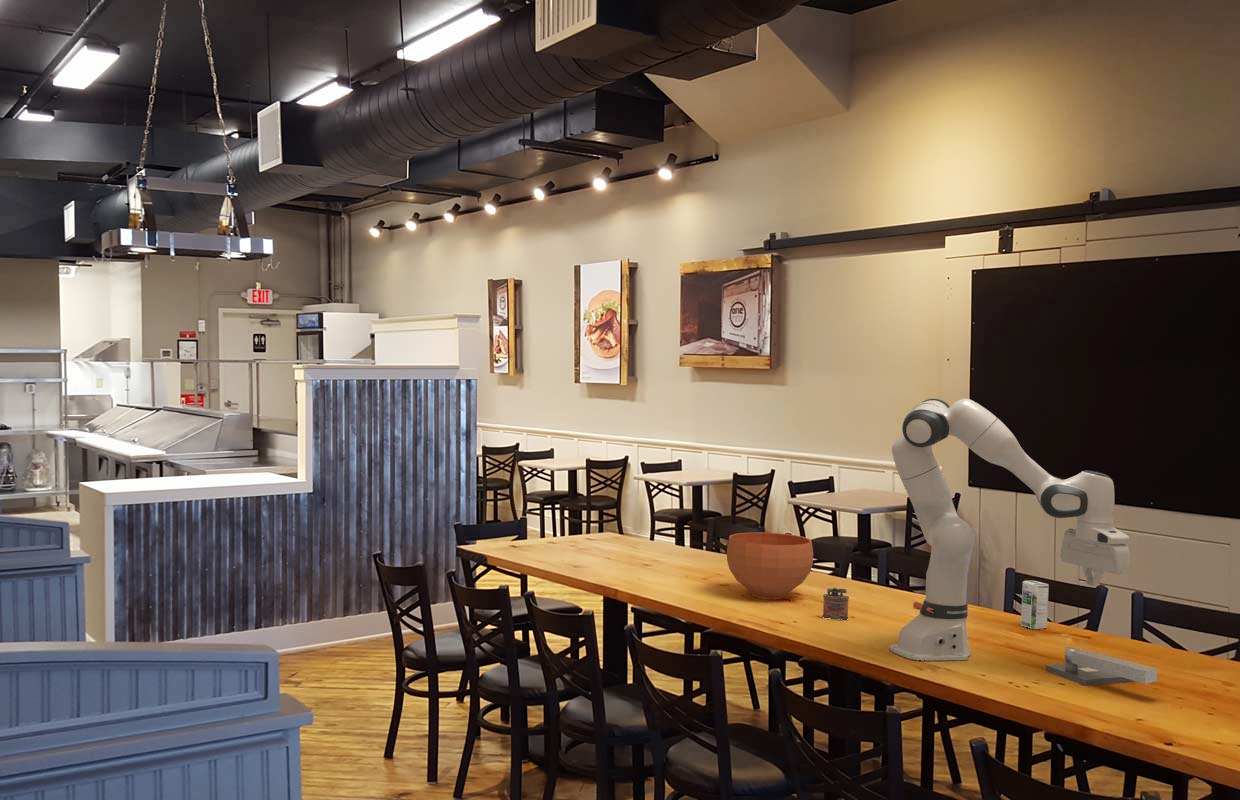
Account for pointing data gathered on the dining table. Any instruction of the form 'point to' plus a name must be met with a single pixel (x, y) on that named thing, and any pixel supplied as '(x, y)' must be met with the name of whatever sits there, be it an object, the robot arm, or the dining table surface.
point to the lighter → (835, 604)
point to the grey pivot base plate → (1084, 674)
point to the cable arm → (1111, 665)
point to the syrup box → (1034, 604)
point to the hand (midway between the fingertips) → (1092, 585)
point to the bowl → (769, 562)
